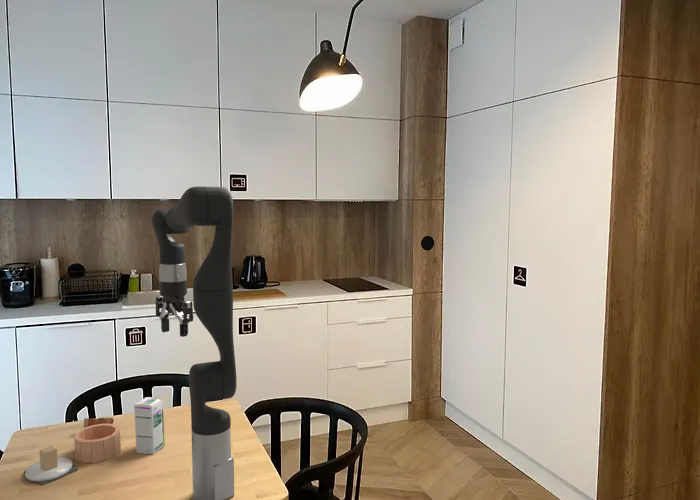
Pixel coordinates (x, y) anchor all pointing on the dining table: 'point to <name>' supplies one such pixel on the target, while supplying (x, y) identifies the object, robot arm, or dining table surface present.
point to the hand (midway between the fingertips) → (174, 333)
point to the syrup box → (149, 425)
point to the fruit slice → (97, 421)
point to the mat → (58, 477)
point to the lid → (48, 466)
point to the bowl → (97, 443)
